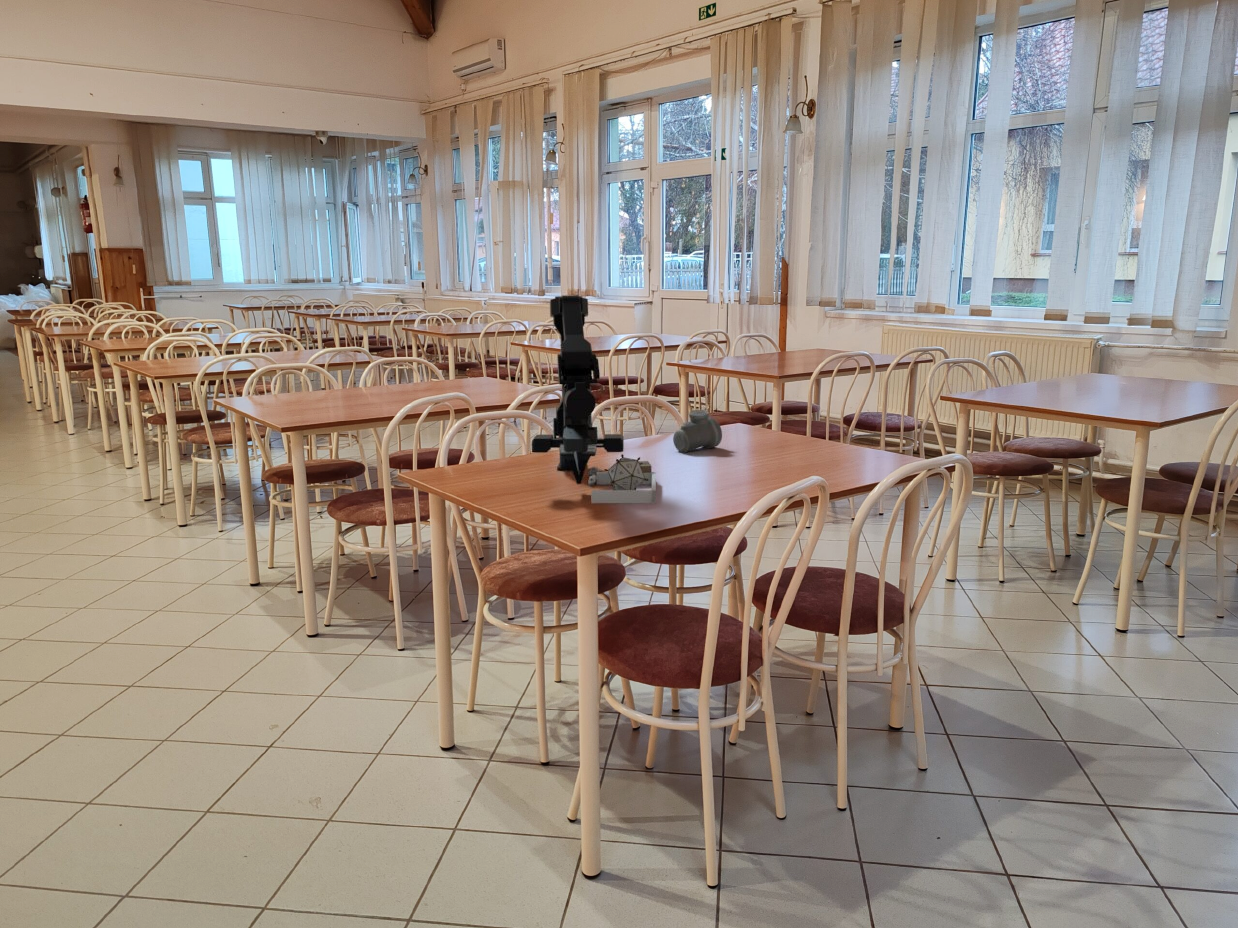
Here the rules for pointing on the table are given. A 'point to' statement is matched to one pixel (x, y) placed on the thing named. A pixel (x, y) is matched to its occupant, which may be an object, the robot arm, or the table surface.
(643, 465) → the drilled block
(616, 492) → the tray
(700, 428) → the pipe fitting
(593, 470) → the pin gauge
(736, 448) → the table surface
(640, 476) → the game die
